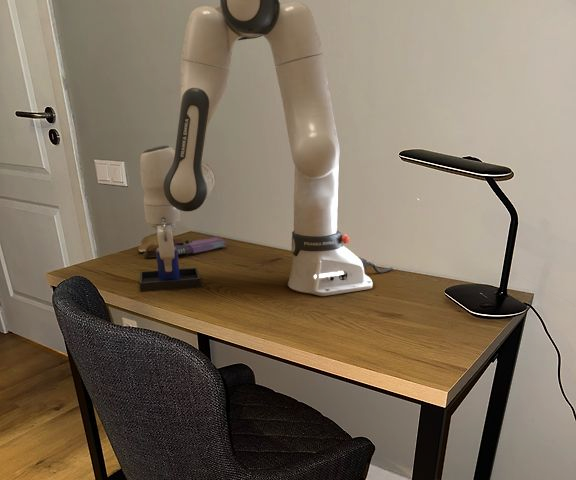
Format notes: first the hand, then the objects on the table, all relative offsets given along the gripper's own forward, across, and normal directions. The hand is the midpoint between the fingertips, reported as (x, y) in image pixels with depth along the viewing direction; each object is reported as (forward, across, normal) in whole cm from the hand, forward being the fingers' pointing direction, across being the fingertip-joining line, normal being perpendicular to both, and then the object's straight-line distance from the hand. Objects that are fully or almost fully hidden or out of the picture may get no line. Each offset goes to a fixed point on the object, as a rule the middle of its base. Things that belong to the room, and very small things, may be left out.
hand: (168, 267), depth 154 cm
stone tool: (+5, +38, +2) cm, 38 cm away
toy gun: (+5, +32, -9) cm, 33 cm away
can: (+4, 0, 0) cm, 4 cm away
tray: (+4, 0, 0) cm, 5 cm away
